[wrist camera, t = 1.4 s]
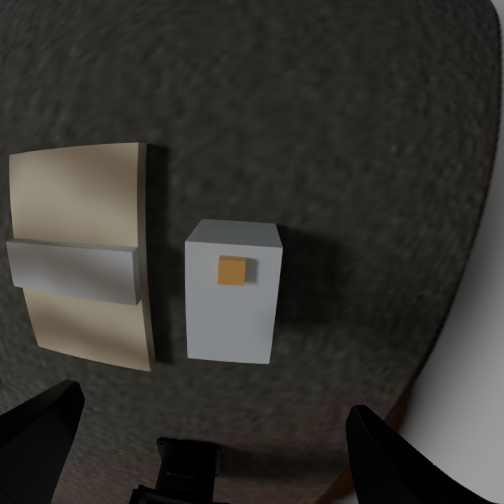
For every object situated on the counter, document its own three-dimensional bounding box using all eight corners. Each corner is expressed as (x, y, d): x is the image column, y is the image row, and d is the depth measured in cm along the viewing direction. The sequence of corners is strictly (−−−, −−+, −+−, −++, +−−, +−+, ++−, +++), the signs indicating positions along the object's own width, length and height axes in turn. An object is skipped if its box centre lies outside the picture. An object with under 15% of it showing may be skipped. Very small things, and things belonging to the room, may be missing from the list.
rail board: (155, 359, 22) (147, 379, 20) (46, 337, 22) (33, 352, 19) (146, 143, 17) (131, 142, 15) (21, 153, 17) (0, 156, 14)
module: (265, 318, 21) (269, 370, 15) (201, 314, 21) (185, 364, 15) (275, 223, 19) (283, 252, 13) (202, 218, 19) (182, 244, 13)
